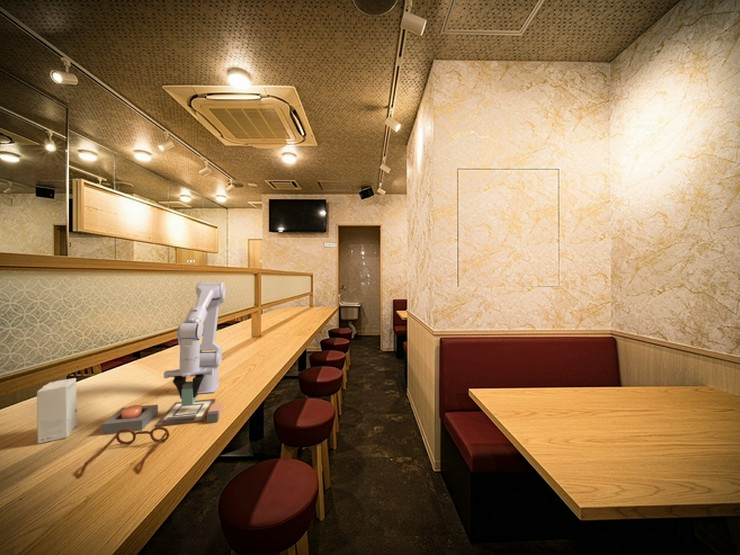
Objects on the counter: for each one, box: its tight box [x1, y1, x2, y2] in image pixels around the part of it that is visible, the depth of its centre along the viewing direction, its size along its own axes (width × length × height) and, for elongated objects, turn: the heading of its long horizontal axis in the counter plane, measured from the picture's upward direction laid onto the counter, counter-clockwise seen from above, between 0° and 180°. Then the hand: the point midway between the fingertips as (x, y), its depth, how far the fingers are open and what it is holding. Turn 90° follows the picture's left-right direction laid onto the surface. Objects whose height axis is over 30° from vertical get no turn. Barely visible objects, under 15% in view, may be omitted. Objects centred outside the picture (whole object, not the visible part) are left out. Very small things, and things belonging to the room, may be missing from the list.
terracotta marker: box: [206, 402, 224, 424], centre depth 91 cm, size 7×3×3 cm, turn 16°
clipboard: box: [154, 398, 216, 428], centre depth 93 cm, size 15×13×2 cm
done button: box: [122, 404, 143, 419], centre depth 86 cm, size 5×5×3 cm
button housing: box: [101, 404, 159, 435], centre depth 86 cm, size 10×10×3 cm
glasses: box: [77, 426, 170, 479], centre depth 70 cm, size 13×13×5 cm
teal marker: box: [181, 380, 197, 406], centre depth 93 cm, size 3×3×7 cm
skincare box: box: [36, 377, 78, 445], centre depth 79 cm, size 8×6×15 cm
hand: (189, 396), depth 94 cm, fingers closed on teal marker, 3 cm apart
